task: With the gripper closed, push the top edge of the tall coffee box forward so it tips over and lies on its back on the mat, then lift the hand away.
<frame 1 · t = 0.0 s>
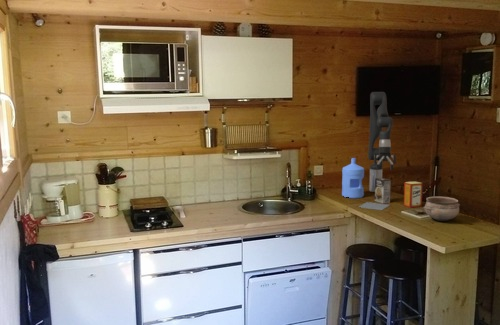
hand: (384, 170, 320), 22 cm above the worktop, tool pointing down, fingers open, 8 cm apart
cooking pot: (441, 220, 277), on the worktop
baking soda box: (412, 206, 311), on the worktop
water jug: (352, 196, 342), on the worktop
coffee box: (382, 202, 324), on the worktop
mat: (374, 206, 311), on the worktop
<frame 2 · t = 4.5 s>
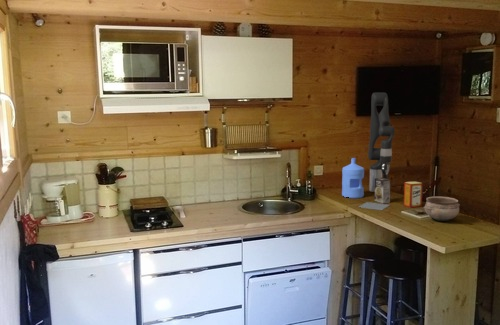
hand: (385, 179, 326), 15 cm above the worktop, tool pointing down, fingers closed
coffee box: (382, 201, 324), on the worktop, touching gripper
everything else where it was.
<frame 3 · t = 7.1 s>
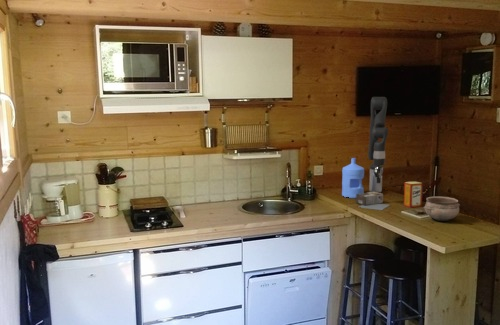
hand: (378, 183, 315), 15 cm above the worktop, tool pointing down, fingers closed
coffee box: (378, 197, 323), point 3 cm above the worktop, touching mat
everything else where it was.
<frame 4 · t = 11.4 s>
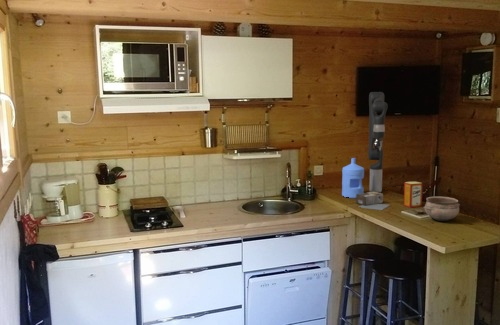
hand: (378, 155, 328), 31 cm above the worktop, tool pointing down, fingers closed
nothing on the worktop moved.
at the end: coffee box tilted 90°; coffee box touching mat; the gripper is holding nothing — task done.
